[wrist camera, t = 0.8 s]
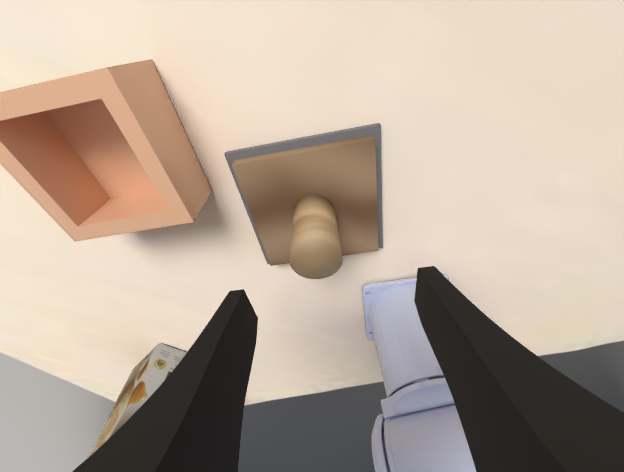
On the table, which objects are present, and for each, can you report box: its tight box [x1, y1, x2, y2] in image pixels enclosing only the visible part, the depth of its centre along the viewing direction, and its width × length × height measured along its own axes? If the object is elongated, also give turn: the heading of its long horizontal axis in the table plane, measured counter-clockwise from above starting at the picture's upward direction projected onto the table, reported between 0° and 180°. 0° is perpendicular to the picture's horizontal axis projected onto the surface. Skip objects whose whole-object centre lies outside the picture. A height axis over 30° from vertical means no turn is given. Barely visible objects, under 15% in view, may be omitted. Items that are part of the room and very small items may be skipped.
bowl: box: [0, 60, 212, 241], centre depth 15 cm, size 8×8×4 cm
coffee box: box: [87, 344, 187, 458], centre depth 28 cm, size 9×6×16 cm
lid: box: [232, 135, 379, 279], centre depth 17 cm, size 9×9×6 cm
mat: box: [224, 123, 383, 264], centre depth 20 cm, size 10×10×1 cm
